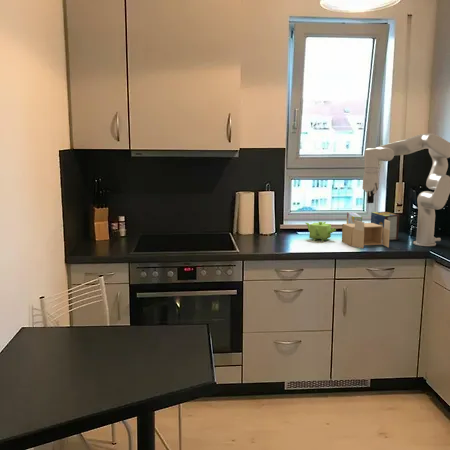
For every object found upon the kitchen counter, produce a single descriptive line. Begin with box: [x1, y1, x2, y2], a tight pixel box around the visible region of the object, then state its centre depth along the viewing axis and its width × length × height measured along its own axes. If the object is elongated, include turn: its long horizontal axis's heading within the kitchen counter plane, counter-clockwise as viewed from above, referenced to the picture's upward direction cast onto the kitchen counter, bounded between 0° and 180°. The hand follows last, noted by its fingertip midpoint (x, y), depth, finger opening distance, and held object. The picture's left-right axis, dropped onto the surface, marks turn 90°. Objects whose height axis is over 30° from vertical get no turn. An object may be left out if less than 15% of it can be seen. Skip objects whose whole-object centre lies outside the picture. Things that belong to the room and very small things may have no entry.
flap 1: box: [351, 221, 365, 250], centre depth 303 cm, size 9×1×15 cm, turn 29°
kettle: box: [305, 221, 337, 242], centre depth 326 cm, size 15×14×11 cm
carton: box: [341, 222, 383, 247], centre depth 316 cm, size 20×12×11 cm, turn 103°
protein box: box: [370, 211, 400, 241], centre depth 333 cm, size 10×15×16 cm
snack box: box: [346, 211, 363, 224], centre depth 332 cm, size 21×6×15 cm, turn 179°
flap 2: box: [382, 220, 390, 248], centre depth 307 cm, size 9×1×15 cm, turn 5°
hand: (370, 202), depth 300 cm, fingers closed
